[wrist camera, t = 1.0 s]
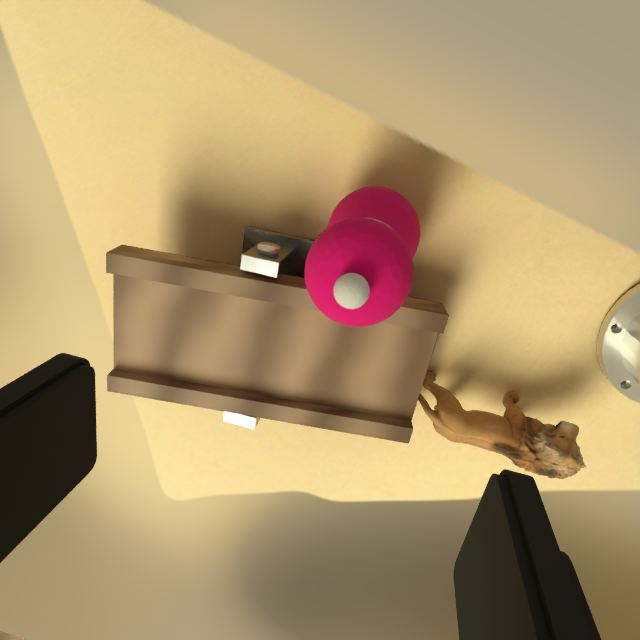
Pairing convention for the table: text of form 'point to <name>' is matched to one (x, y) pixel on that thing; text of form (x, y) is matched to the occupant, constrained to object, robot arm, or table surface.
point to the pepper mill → (364, 258)
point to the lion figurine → (507, 433)
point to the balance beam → (263, 346)
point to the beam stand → (270, 273)
